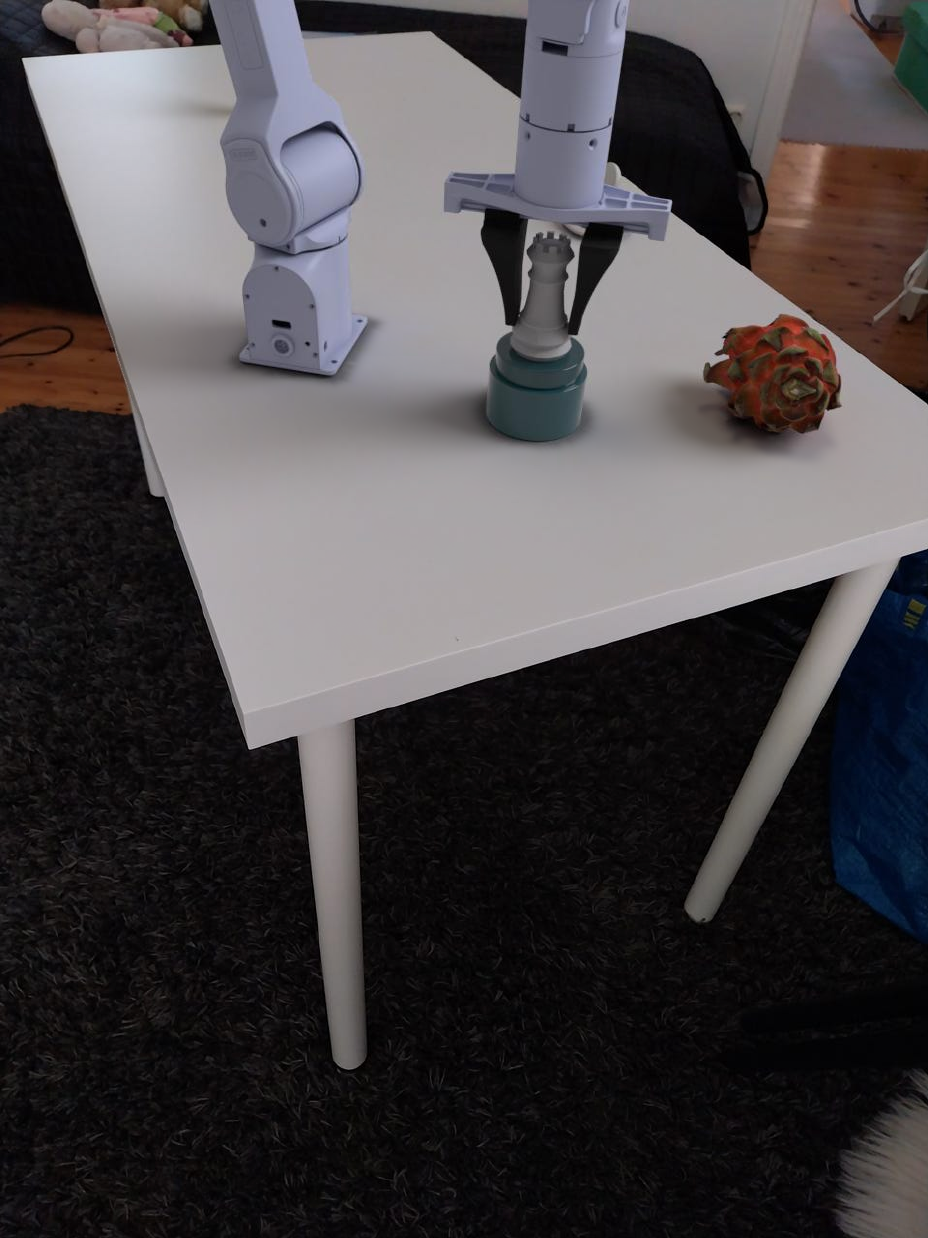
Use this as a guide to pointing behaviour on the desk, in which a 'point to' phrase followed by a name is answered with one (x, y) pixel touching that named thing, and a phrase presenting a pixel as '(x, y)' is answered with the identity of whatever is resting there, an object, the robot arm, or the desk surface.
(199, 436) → the desk surface
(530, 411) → the teal jar with lid
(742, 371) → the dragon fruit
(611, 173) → the pacifier
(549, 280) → the rook chess piece
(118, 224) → the desk surface
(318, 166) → the robot arm
